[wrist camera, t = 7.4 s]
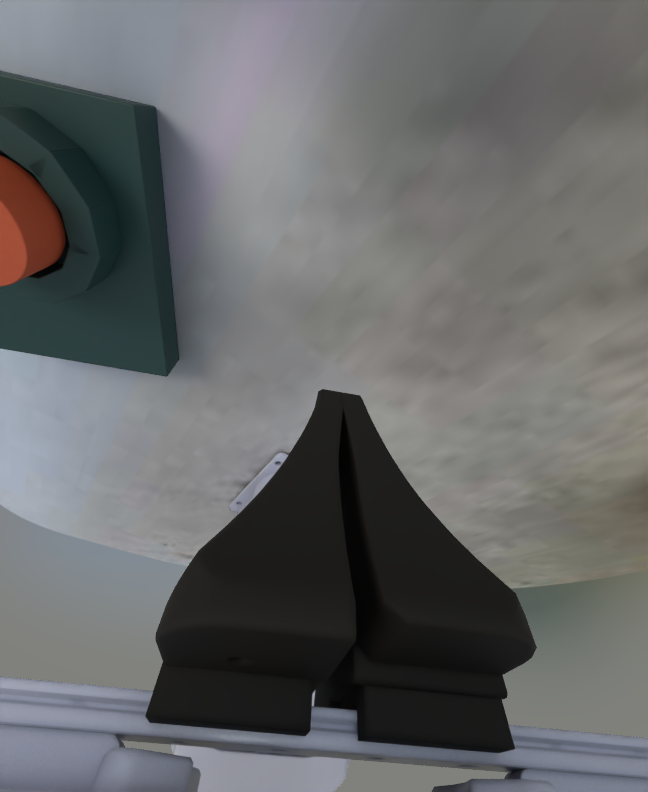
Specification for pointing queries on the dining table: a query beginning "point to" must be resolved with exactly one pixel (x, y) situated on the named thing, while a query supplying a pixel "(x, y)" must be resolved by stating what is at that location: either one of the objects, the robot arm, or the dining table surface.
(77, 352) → the green button base
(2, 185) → the push button
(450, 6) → the dining table surface
